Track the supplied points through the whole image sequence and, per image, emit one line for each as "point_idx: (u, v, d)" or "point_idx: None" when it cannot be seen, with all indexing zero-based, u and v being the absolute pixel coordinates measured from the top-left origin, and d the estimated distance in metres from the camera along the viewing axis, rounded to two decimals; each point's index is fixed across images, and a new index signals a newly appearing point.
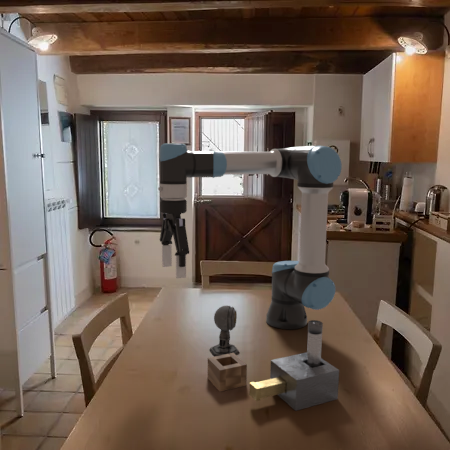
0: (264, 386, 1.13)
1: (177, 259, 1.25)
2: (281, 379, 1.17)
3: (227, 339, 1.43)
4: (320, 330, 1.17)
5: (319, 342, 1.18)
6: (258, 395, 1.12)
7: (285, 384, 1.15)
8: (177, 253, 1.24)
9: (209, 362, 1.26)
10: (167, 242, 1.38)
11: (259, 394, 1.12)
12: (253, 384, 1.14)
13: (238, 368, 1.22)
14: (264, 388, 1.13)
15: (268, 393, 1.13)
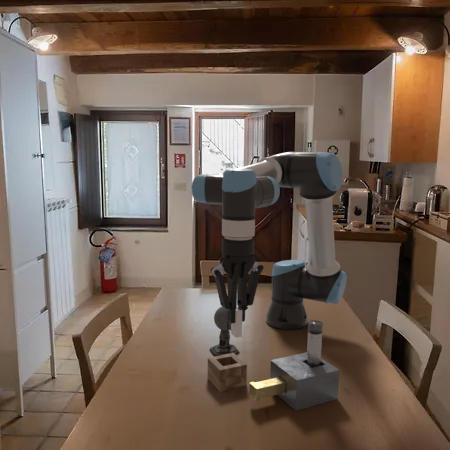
0: (264, 386, 1.13)
1: None
2: (281, 379, 1.17)
3: (227, 339, 1.43)
4: (320, 330, 1.17)
5: (319, 342, 1.18)
6: (258, 395, 1.12)
7: (285, 384, 1.15)
8: None
9: (209, 362, 1.26)
10: (240, 305, 1.07)
11: (259, 394, 1.12)
12: (253, 384, 1.14)
13: (238, 368, 1.22)
14: (264, 388, 1.13)
15: (268, 393, 1.13)
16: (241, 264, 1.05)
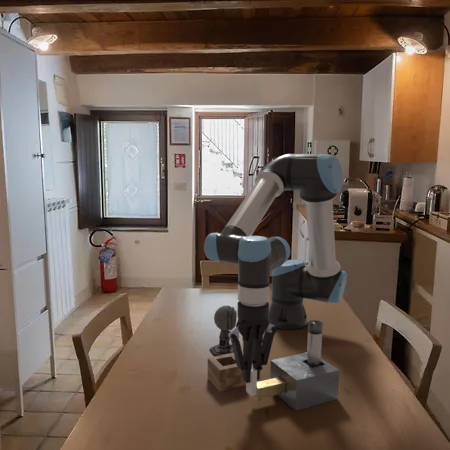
0: (265, 386, 1.13)
1: None
2: (282, 379, 1.17)
3: (227, 339, 1.43)
4: (320, 330, 1.17)
5: (319, 342, 1.18)
6: (259, 395, 1.12)
7: (286, 384, 1.15)
8: None
9: (209, 362, 1.26)
10: (255, 365, 1.12)
11: (260, 394, 1.12)
12: None
13: (238, 368, 1.22)
14: (265, 387, 1.13)
15: (269, 393, 1.14)
16: (256, 327, 1.09)
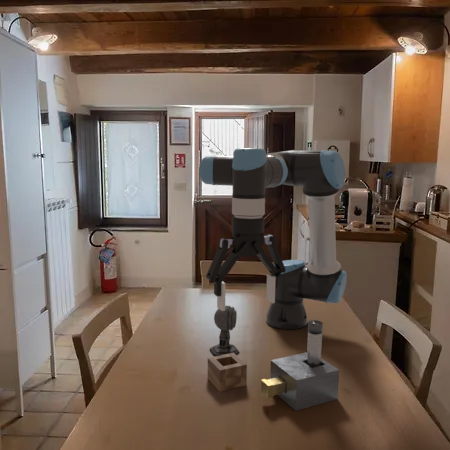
0: (276, 383, 1.14)
1: None
2: None
3: (227, 339, 1.43)
4: (320, 330, 1.17)
5: (319, 342, 1.18)
6: (270, 392, 1.13)
7: None
8: None
9: (209, 362, 1.26)
10: (273, 272, 1.10)
11: (271, 391, 1.13)
12: (265, 381, 1.15)
13: (238, 368, 1.22)
14: (276, 385, 1.14)
15: (280, 390, 1.15)
16: (251, 245, 1.05)
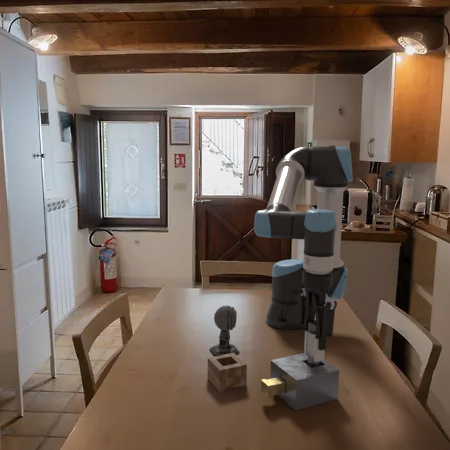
0: (276, 383, 1.14)
1: (317, 342, 1.17)
2: None
3: (227, 339, 1.43)
4: None
5: None
6: (270, 392, 1.13)
7: None
8: (318, 337, 1.15)
9: (209, 362, 1.26)
10: None
11: (271, 391, 1.13)
12: (265, 381, 1.15)
13: (238, 368, 1.22)
14: (276, 385, 1.14)
15: (280, 390, 1.15)
16: None
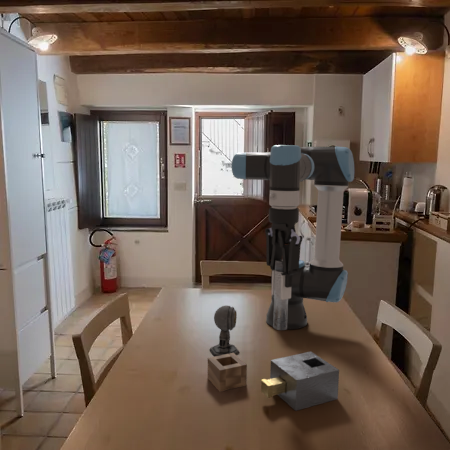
0: (276, 383, 1.14)
1: (283, 279, 1.16)
2: None
3: (227, 339, 1.43)
4: None
5: None
6: (270, 392, 1.13)
7: None
8: (285, 274, 1.14)
9: (209, 362, 1.26)
10: None
11: (271, 391, 1.13)
12: (265, 381, 1.15)
13: (238, 368, 1.22)
14: (276, 385, 1.14)
15: (280, 390, 1.15)
16: None
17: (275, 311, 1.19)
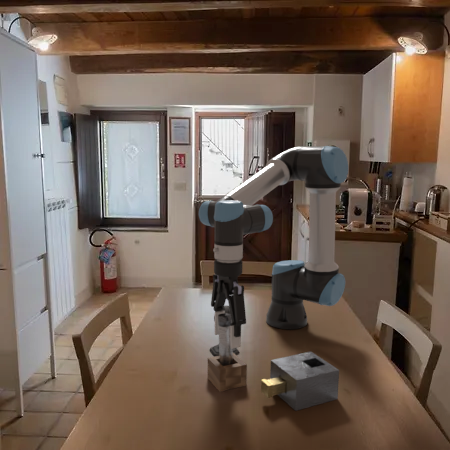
0: (276, 383, 1.14)
1: (232, 329, 1.18)
2: None
3: None
4: (228, 323, 1.22)
5: (228, 334, 1.22)
6: (270, 392, 1.13)
7: None
8: (233, 324, 1.17)
9: (209, 362, 1.26)
10: (220, 308, 1.28)
11: (271, 391, 1.13)
12: (265, 381, 1.15)
13: (238, 368, 1.22)
14: (276, 385, 1.14)
15: (280, 390, 1.15)
16: None
17: (220, 363, 1.24)
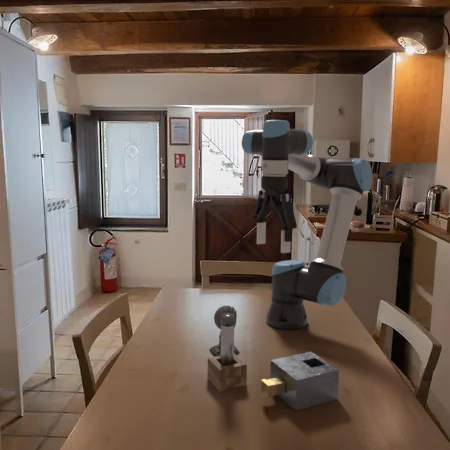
0: (276, 383, 1.14)
1: (283, 234, 1.27)
2: None
3: None
4: (231, 322, 1.22)
5: (231, 334, 1.22)
6: (270, 392, 1.13)
7: None
8: (284, 228, 1.25)
9: (209, 362, 1.26)
10: (261, 220, 1.40)
11: (271, 391, 1.13)
12: (265, 381, 1.15)
13: (238, 368, 1.22)
14: (276, 385, 1.14)
15: (280, 390, 1.15)
16: None
17: (221, 363, 1.24)
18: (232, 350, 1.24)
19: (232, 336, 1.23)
